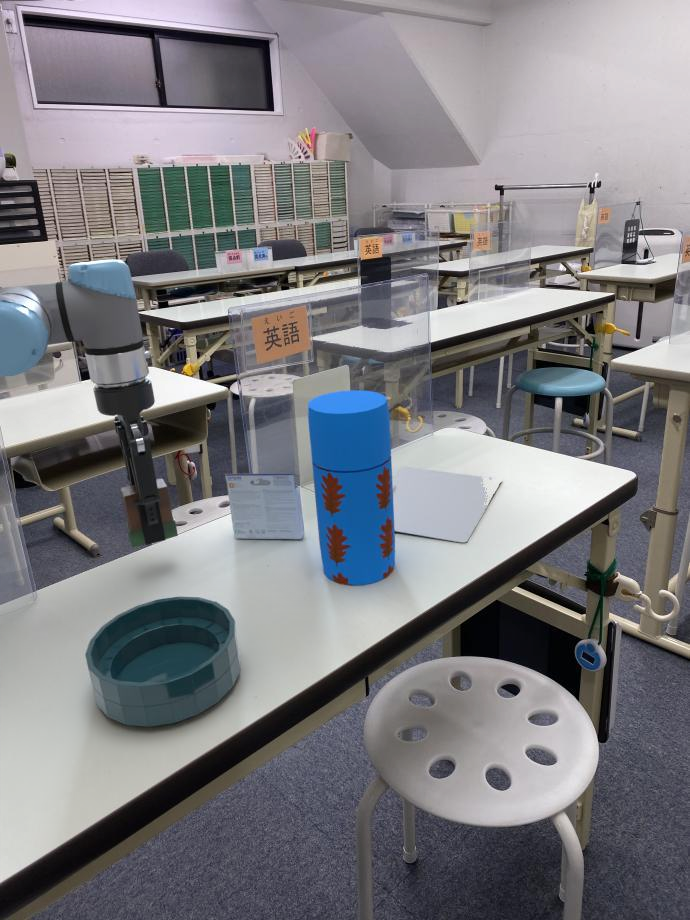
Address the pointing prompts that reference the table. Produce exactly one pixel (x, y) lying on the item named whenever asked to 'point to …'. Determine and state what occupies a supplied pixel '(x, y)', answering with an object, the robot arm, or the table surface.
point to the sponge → (135, 520)
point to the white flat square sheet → (437, 503)
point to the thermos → (353, 485)
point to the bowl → (164, 660)
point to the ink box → (265, 506)
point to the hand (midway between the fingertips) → (152, 535)
